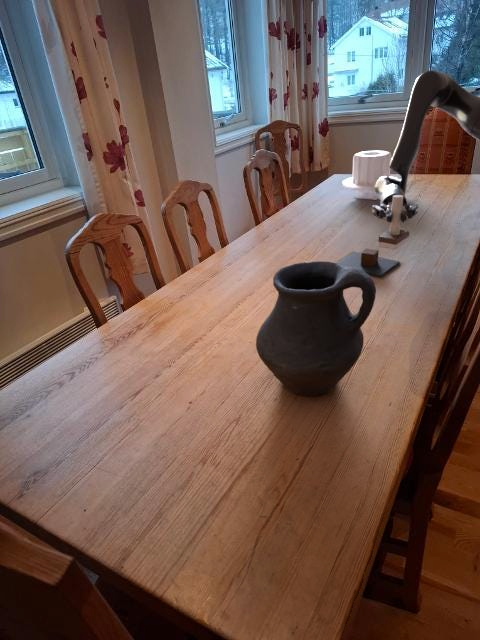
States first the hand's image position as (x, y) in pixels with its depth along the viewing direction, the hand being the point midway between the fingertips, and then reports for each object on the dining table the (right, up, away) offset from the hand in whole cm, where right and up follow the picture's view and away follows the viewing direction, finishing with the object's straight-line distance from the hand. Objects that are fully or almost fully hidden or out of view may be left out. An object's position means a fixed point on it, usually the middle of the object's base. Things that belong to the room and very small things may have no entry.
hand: (396, 219), depth 121 cm
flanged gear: (+16, +29, +80) cm, 86 cm away
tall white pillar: (+1, -6, +7) cm, 9 cm away
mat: (-5, -11, +13) cm, 18 cm away
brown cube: (-4, -11, +12) cm, 17 cm away
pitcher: (-29, -41, -33) cm, 60 cm away
